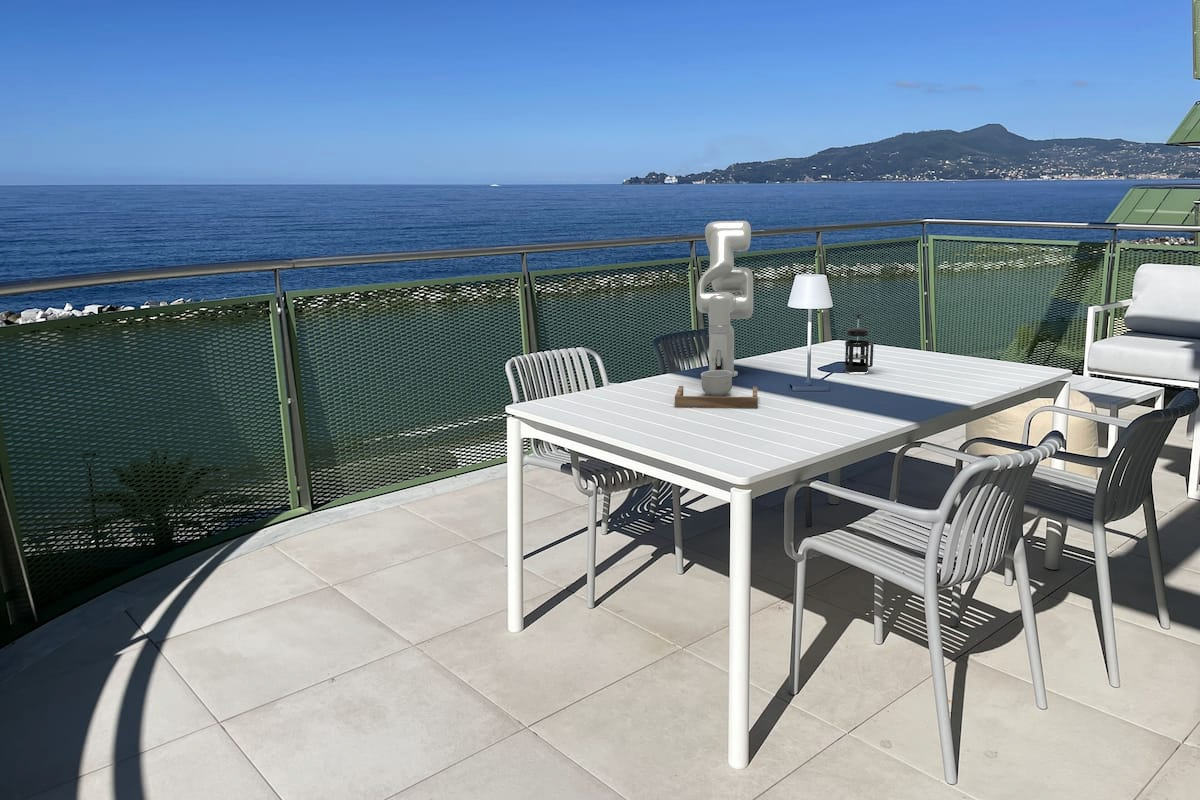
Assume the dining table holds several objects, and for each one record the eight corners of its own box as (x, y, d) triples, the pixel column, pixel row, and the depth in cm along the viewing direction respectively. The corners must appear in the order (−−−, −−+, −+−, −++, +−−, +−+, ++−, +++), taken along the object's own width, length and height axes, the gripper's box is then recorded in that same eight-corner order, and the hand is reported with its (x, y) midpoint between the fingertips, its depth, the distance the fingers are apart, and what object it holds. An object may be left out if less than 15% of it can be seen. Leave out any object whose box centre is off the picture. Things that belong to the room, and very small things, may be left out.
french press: (837, 372, 335) (839, 313, 330) (850, 369, 341) (852, 311, 336) (864, 376, 326) (867, 316, 321) (877, 372, 333) (880, 313, 328)
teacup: (731, 398, 297) (731, 375, 295) (699, 397, 299) (699, 375, 297) (732, 389, 310) (732, 367, 308) (702, 389, 312) (702, 367, 310)
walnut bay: (679, 395, 303) (679, 385, 302) (757, 396, 298) (757, 386, 297) (674, 407, 286) (674, 397, 285) (757, 408, 281) (757, 397, 281)
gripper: (709, 326, 316) (709, 376, 320) (707, 332, 301) (707, 384, 305) (730, 326, 314) (730, 376, 318) (729, 332, 300) (729, 384, 304)
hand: (719, 379), depth 312 cm, fingers closed
